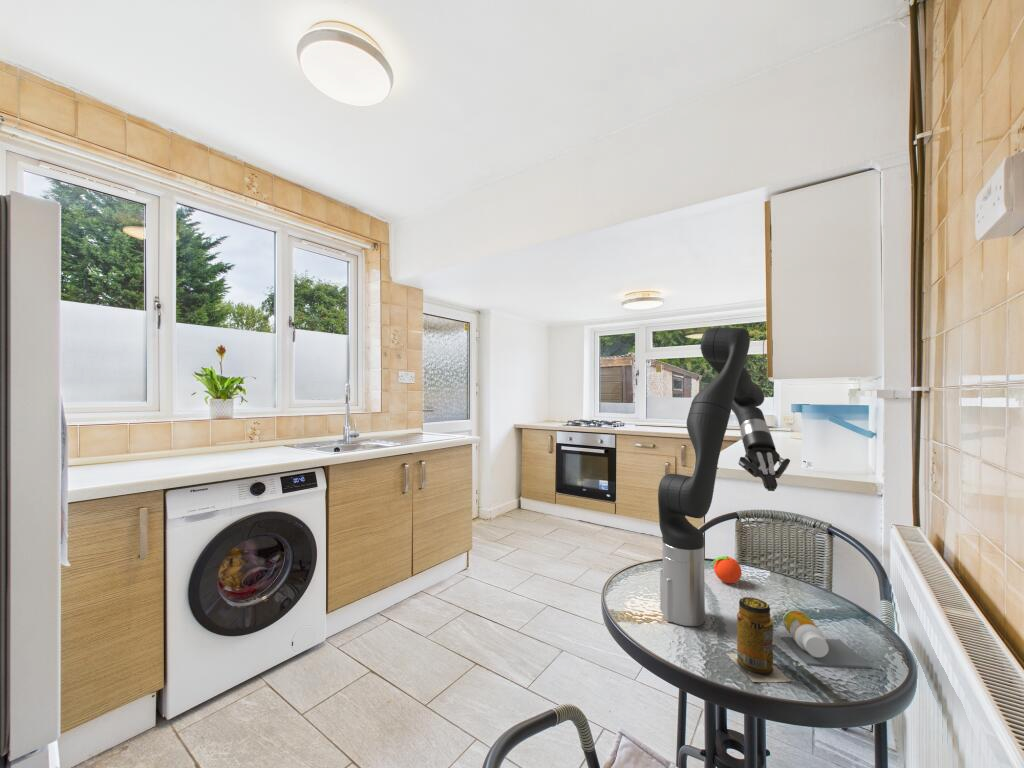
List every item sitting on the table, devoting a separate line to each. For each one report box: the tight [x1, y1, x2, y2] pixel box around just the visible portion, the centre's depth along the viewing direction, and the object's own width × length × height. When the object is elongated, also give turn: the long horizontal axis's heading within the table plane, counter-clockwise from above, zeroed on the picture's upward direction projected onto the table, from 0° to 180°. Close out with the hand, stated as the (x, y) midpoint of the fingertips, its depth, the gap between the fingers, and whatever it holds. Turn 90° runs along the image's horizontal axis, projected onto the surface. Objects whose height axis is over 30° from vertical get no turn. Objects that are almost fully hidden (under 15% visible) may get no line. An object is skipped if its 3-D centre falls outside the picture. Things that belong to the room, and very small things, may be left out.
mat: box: [780, 636, 873, 669], centre depth 85 cm, size 12×9×1 cm
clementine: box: [710, 556, 742, 584], centre depth 118 cm, size 8×7×7 cm
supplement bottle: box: [782, 609, 829, 657], centre depth 87 cm, size 5×5×10 cm
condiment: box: [726, 596, 791, 684], centre depth 81 cm, size 7×8×12 cm
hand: (772, 489), depth 110 cm, fingers closed
